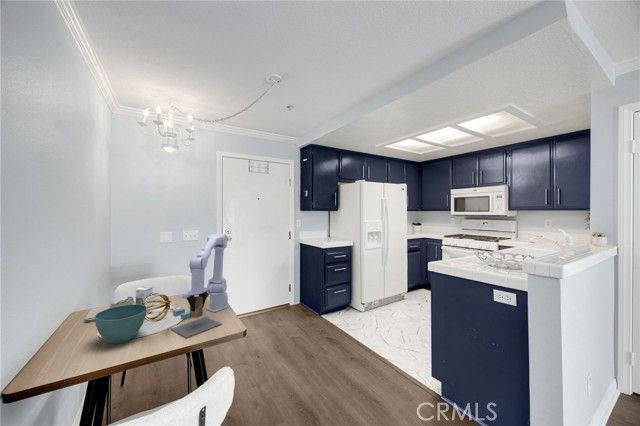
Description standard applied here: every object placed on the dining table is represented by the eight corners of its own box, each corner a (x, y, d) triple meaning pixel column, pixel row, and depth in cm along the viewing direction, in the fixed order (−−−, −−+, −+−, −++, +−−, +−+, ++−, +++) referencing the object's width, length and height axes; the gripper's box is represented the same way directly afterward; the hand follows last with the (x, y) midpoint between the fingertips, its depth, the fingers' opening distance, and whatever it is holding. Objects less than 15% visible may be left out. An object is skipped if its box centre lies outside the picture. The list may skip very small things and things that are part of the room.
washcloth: (83, 324, 127) (83, 318, 127) (89, 312, 142) (89, 307, 142) (114, 319, 134) (114, 313, 134) (116, 308, 149) (117, 303, 149)
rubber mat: (205, 317, 138) (205, 316, 138) (221, 324, 130) (221, 323, 130) (170, 330, 123) (170, 328, 123) (186, 338, 115) (186, 337, 115)
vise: (176, 309, 148) (176, 305, 148) (192, 317, 138) (193, 312, 138) (166, 312, 144) (166, 308, 144) (182, 320, 134) (182, 315, 134)
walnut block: (197, 314, 129) (197, 296, 129) (202, 315, 127) (202, 297, 127) (190, 316, 126) (190, 298, 126) (195, 318, 124) (195, 299, 124)
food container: (121, 324, 127) (122, 304, 127) (109, 324, 127) (109, 304, 127) (139, 314, 140) (140, 296, 140) (128, 314, 140) (128, 296, 140)
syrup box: (152, 311, 144) (153, 286, 144) (144, 315, 138) (145, 289, 138) (143, 311, 145) (143, 285, 145) (134, 315, 139) (135, 288, 139)
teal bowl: (150, 327, 125) (151, 302, 125) (139, 345, 108) (140, 316, 108) (104, 333, 118) (105, 306, 118) (85, 353, 101) (86, 322, 101)
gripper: (205, 277, 134) (205, 303, 134) (178, 283, 122) (178, 312, 122) (214, 279, 131) (214, 306, 131) (187, 286, 118) (187, 315, 118)
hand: (197, 309), depth 126 cm, fingers closed on walnut block, 4 cm apart
